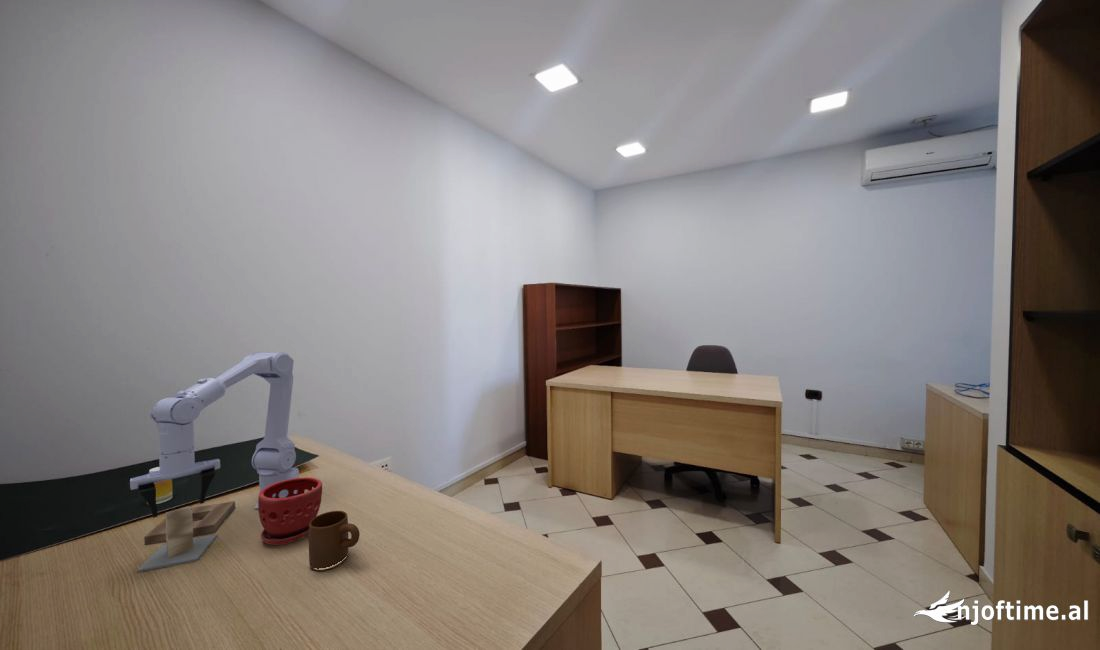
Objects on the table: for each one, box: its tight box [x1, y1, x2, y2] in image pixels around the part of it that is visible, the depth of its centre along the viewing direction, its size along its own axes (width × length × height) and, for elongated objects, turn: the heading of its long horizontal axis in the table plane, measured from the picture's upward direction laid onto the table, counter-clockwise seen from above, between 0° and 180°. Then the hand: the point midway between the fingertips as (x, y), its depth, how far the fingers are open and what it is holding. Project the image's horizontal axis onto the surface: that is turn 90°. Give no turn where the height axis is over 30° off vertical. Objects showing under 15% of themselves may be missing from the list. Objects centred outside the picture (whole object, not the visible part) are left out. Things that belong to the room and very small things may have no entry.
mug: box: [307, 510, 360, 569], centre depth 83 cm, size 12×8×9 cm, turn 73°
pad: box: [136, 534, 218, 573], centre depth 86 cm, size 10×10×1 cm
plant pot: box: [257, 477, 323, 546], centre depth 94 cm, size 13×13×12 cm
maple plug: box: [165, 505, 194, 558], centre depth 86 cm, size 4×4×9 cm
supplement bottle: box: [146, 466, 174, 505], centre depth 111 cm, size 5×5×10 cm
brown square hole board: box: [143, 500, 236, 546], centre depth 98 cm, size 13×13×2 cm
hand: (178, 508), depth 86 cm, fingers open, 7 cm apart
